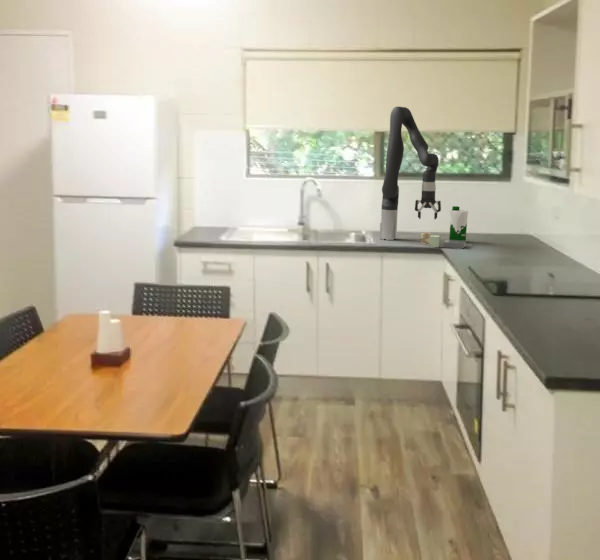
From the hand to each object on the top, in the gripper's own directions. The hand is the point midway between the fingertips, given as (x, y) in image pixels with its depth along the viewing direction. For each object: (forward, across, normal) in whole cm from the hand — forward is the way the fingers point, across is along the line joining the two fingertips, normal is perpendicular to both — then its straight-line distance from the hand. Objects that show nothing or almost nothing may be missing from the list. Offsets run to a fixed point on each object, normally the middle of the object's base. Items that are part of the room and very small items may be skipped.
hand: (427, 218), depth 470 cm
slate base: (+14, +16, -5) cm, 22 cm away
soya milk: (+14, +16, +15) cm, 26 cm away
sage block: (+14, +6, -9) cm, 18 cm away
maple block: (+14, 0, 0) cm, 14 cm away
